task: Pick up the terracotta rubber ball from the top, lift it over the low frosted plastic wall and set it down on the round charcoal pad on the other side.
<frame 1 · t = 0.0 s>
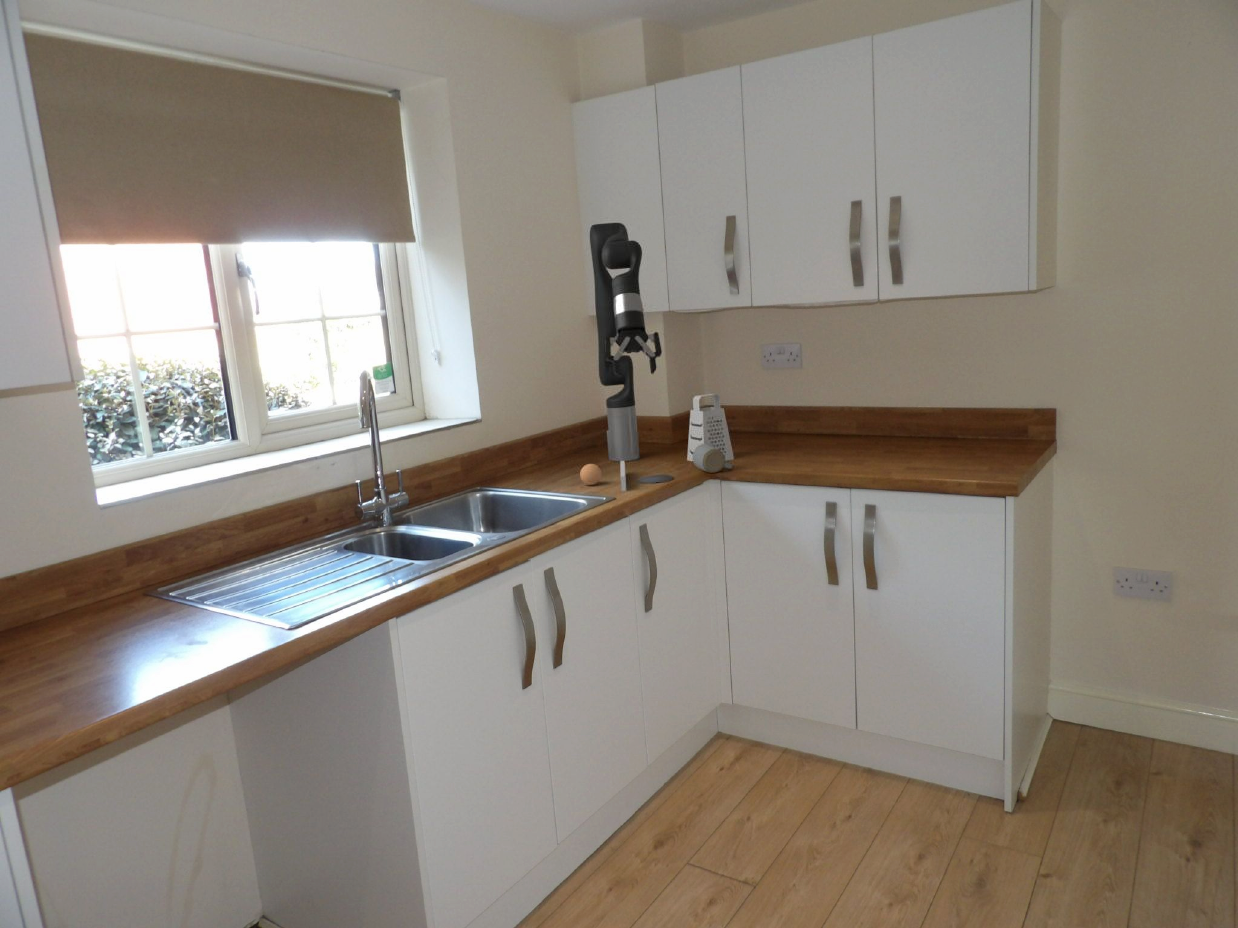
hand: (636, 374, 229), 31 cm above the worktop, tool tilted 20°, fingers open, 8 cm apart
low wall: (623, 482, 253), on the worktop
grater: (710, 460, 277), on the worktop
ball: (590, 474, 253), point 3 cm above the worktop
ceramic mug: (714, 471, 259), on the worktop
pad: (655, 479, 253), on the worktop
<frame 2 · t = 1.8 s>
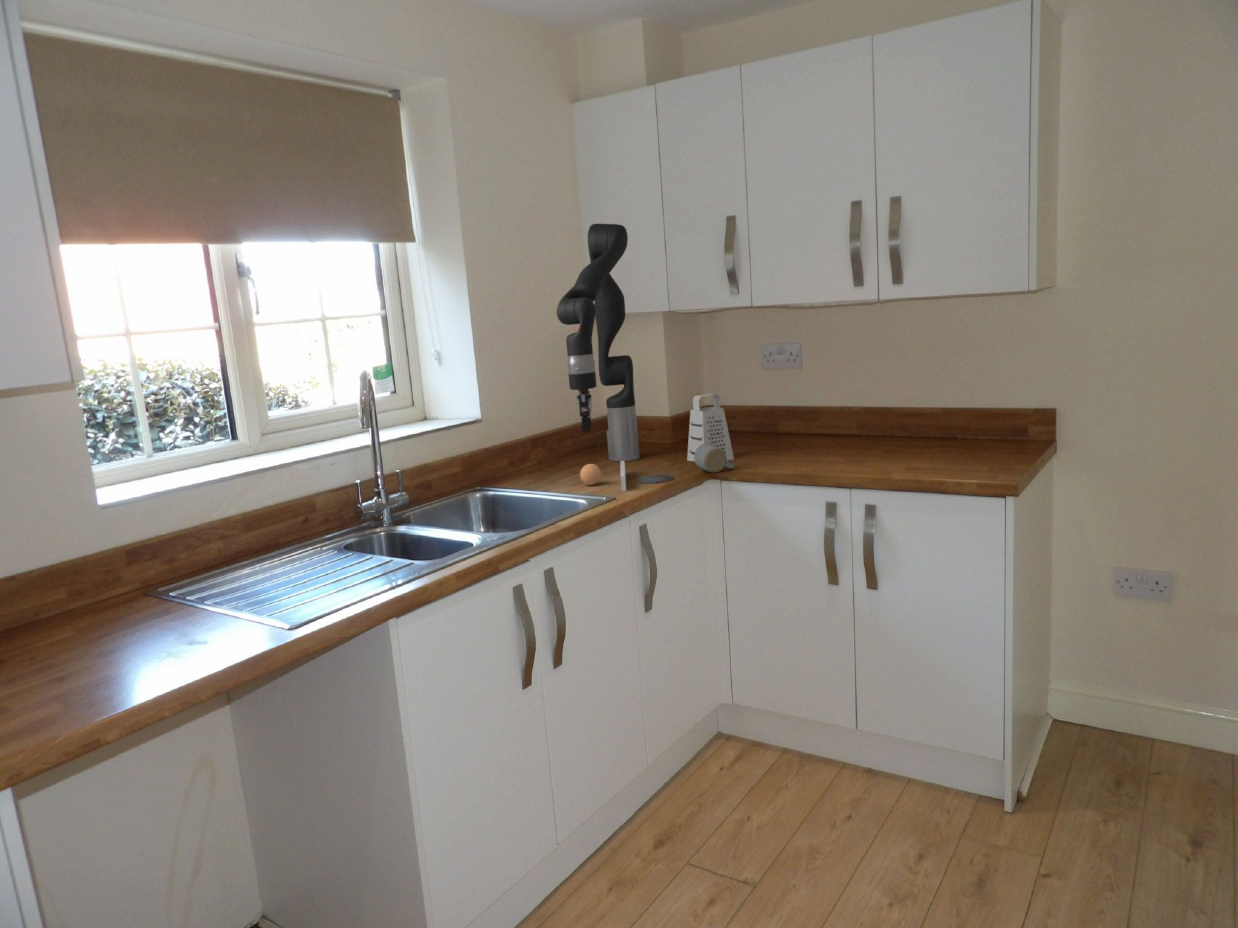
hand: (587, 429, 251), 16 cm above the worktop, tool pointing down, fingers open, 8 cm apart
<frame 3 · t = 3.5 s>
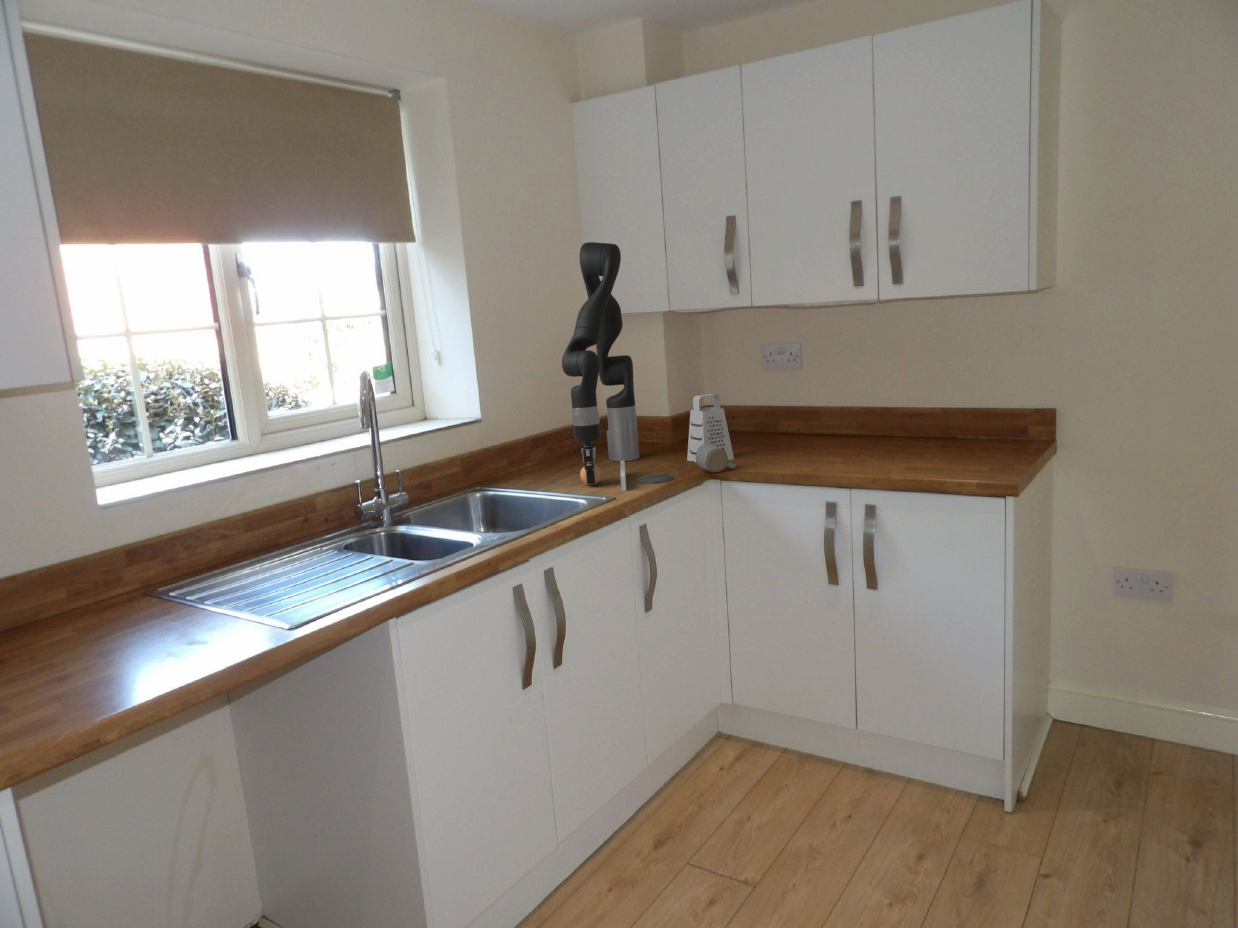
hand: (591, 481, 253), 1 cm above the worktop, tool pointing down, fingers closed on ball, 6 cm apart
ball: (590, 474, 253), point 3 cm above the worktop, touching gripper
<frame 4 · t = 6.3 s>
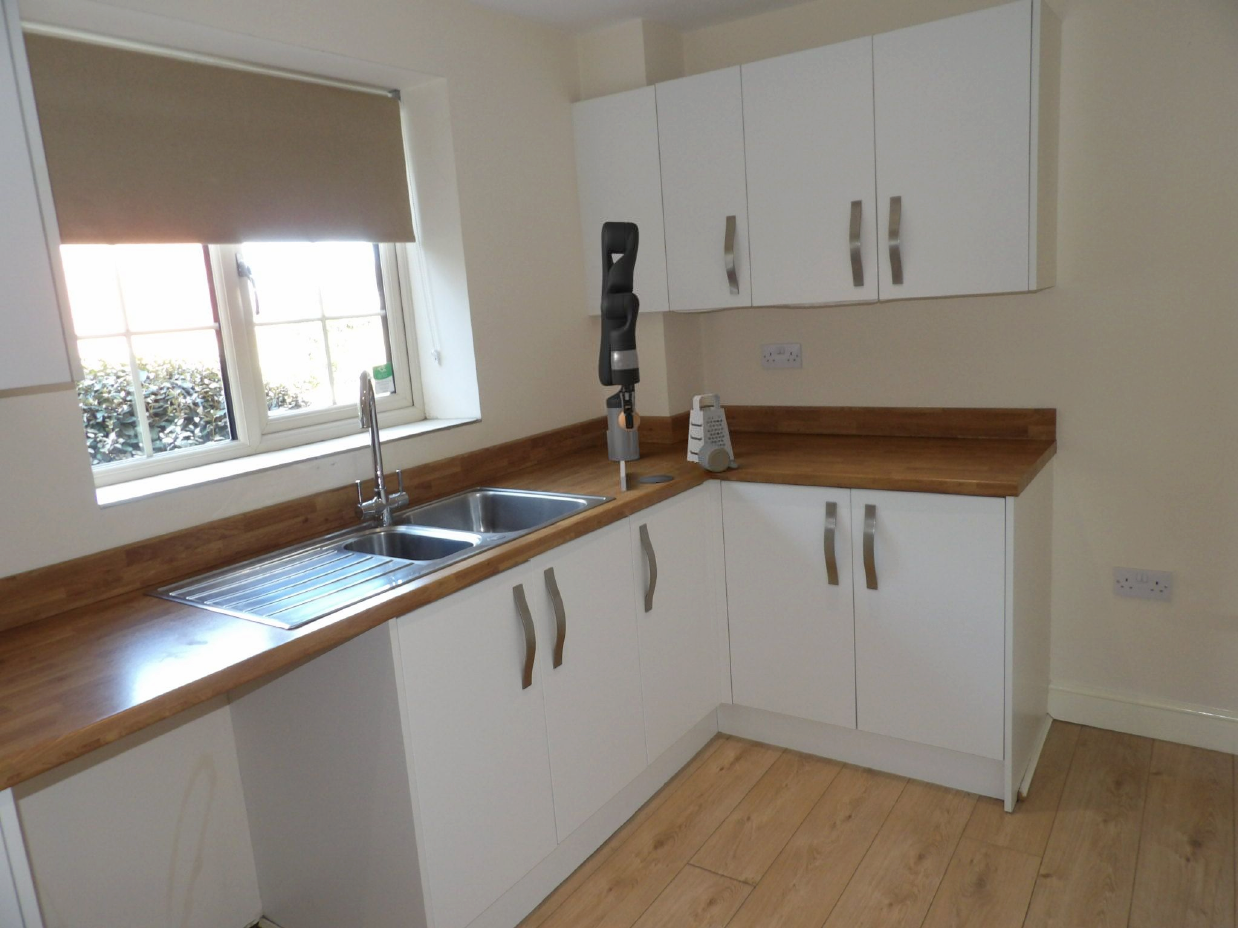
hand: (630, 426, 250), 16 cm above the worktop, tool pointing down, fingers closed on ball, 6 cm apart
ball: (629, 420, 250), point 17 cm above the worktop, touching gripper
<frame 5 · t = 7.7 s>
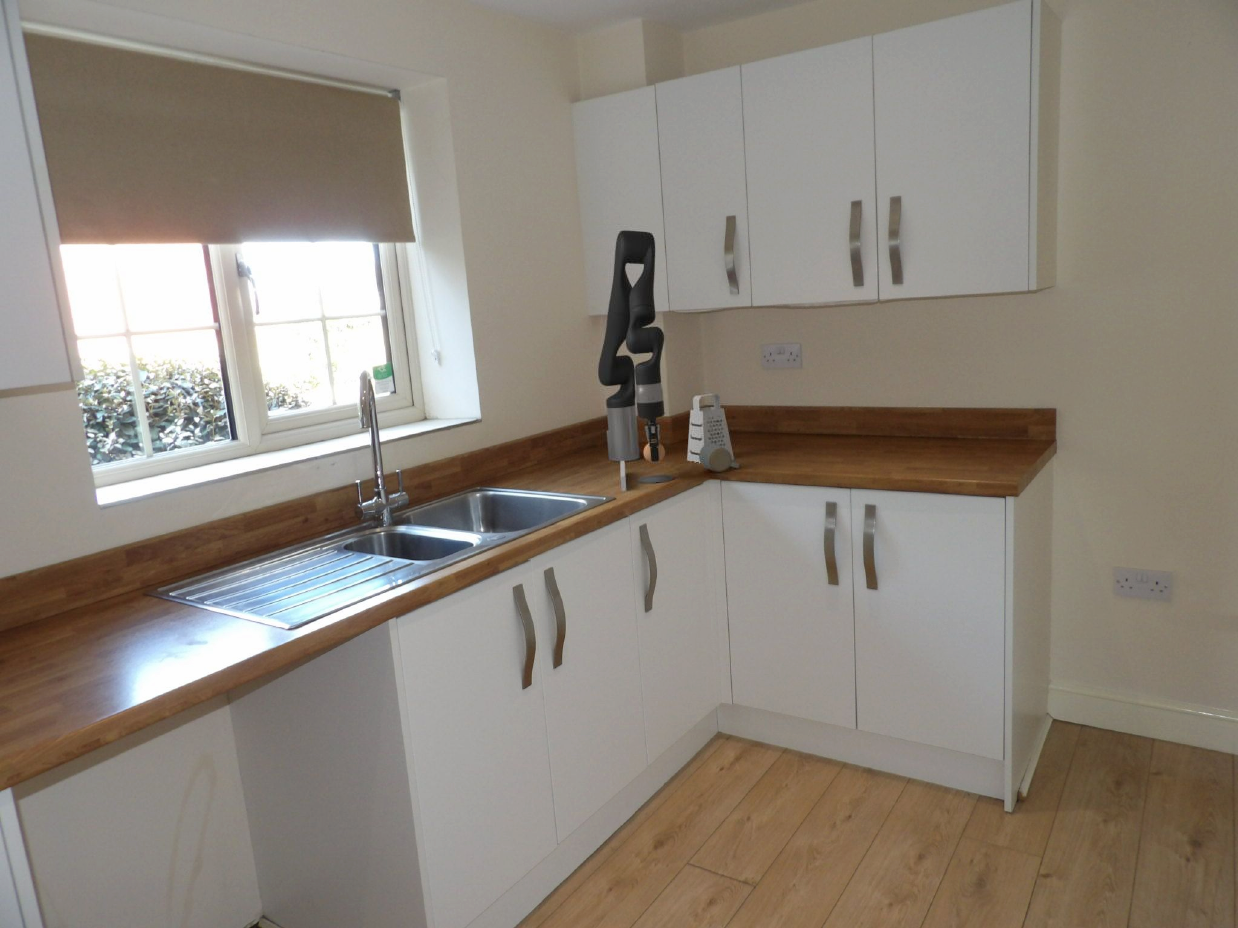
hand: (654, 459, 252), 6 cm above the worktop, tool pointing down, fingers closed on ball, 6 cm apart
ball: (654, 452, 252), point 8 cm above the worktop, touching gripper
when the fingers open (2 cm above the worktop, at t = 9.0 s): ball stays where it is, resting on pad.
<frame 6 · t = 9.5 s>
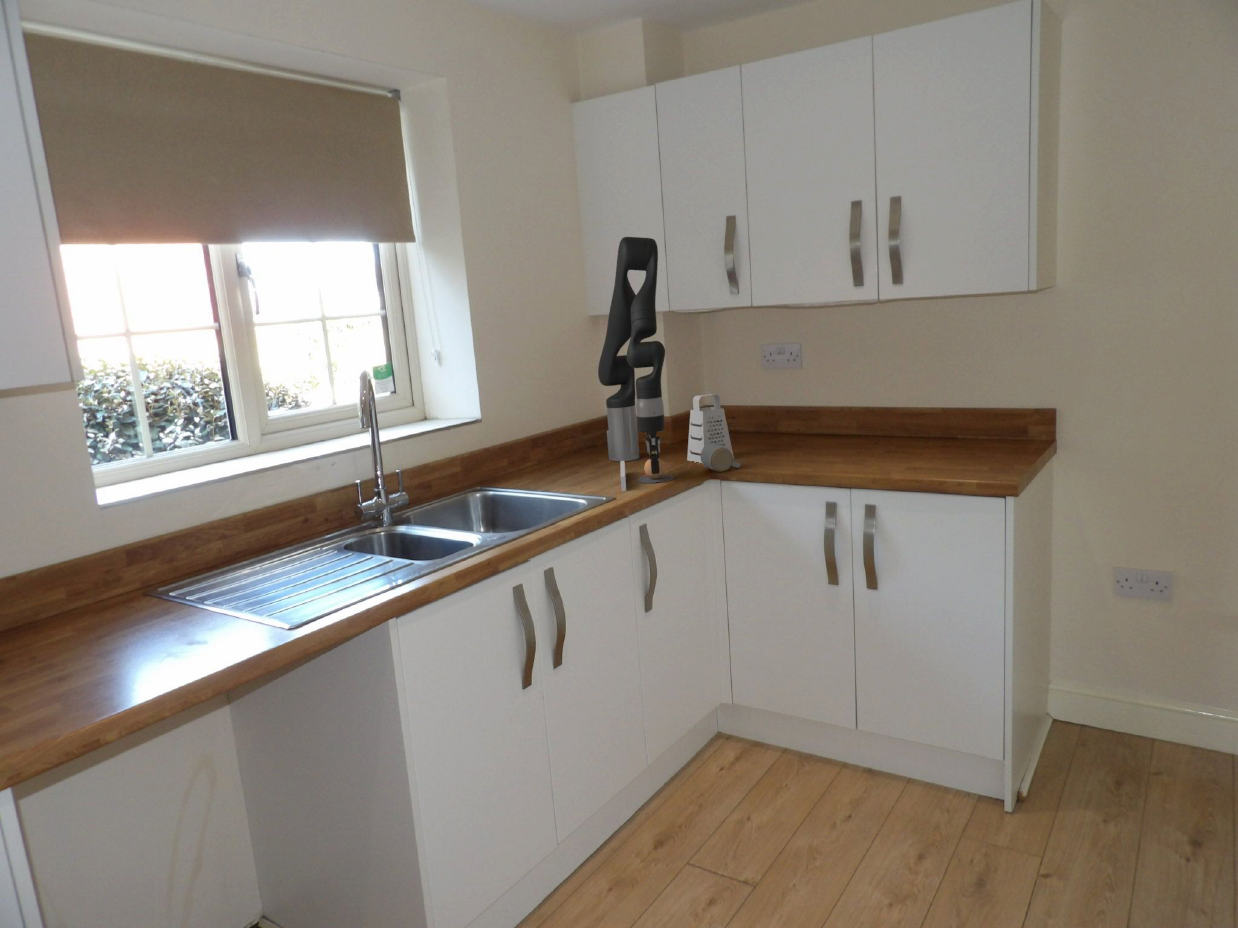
hand: (655, 470, 253), 2 cm above the worktop, tool pointing down, fingers open, 8 cm apart
ball: (654, 468, 253), point 3 cm above the worktop, touching pad
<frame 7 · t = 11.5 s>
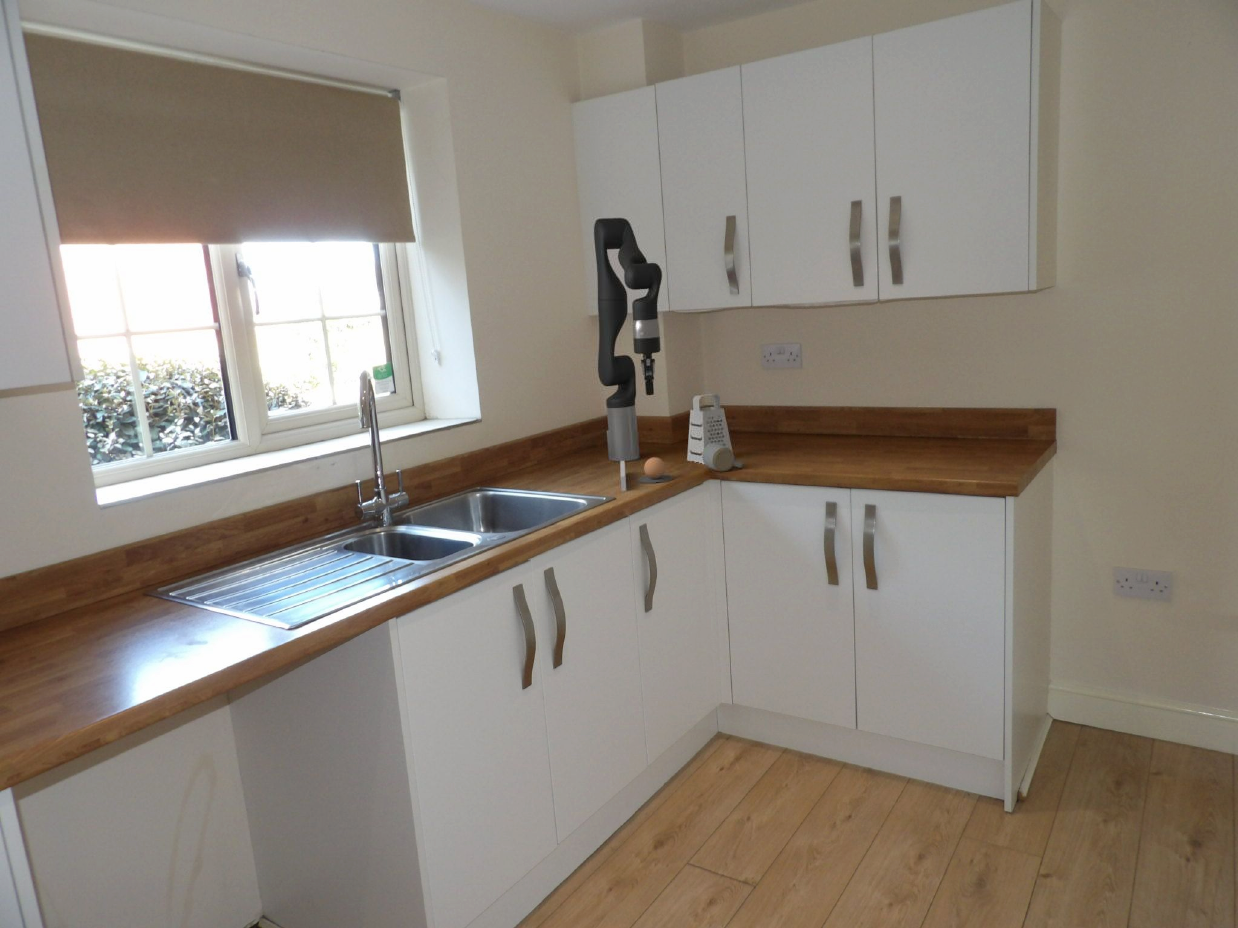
hand: (649, 393, 256), 24 cm above the worktop, tool pointing down, fingers open, 8 cm apart
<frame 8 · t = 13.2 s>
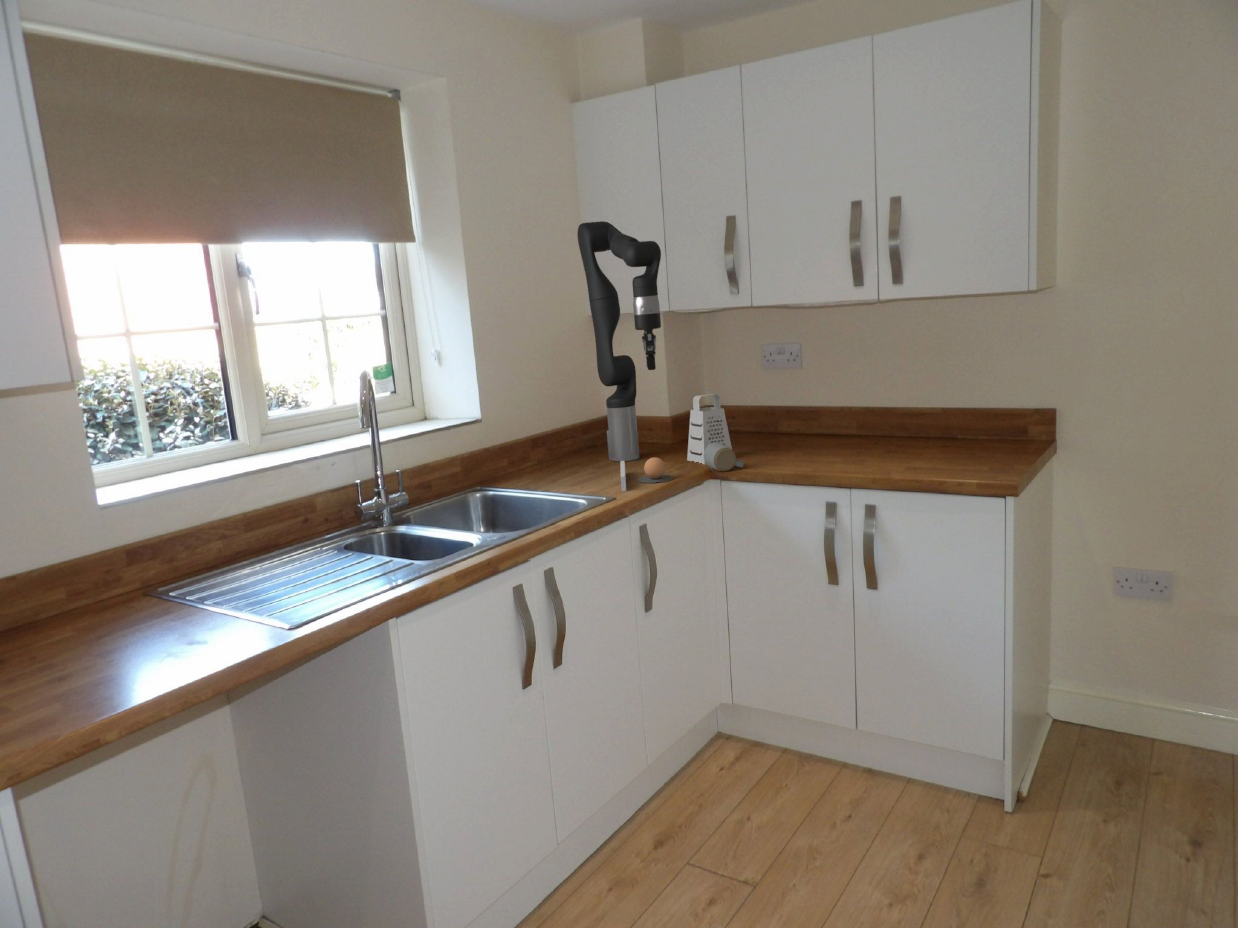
hand: (651, 368, 261), 30 cm above the worktop, tool pointing down, fingers open, 8 cm apart
at the end: ball 0.0 cm from the pad (horizontally); ball point 3.3 cm above the worktop; the gripper is holding nothing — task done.
